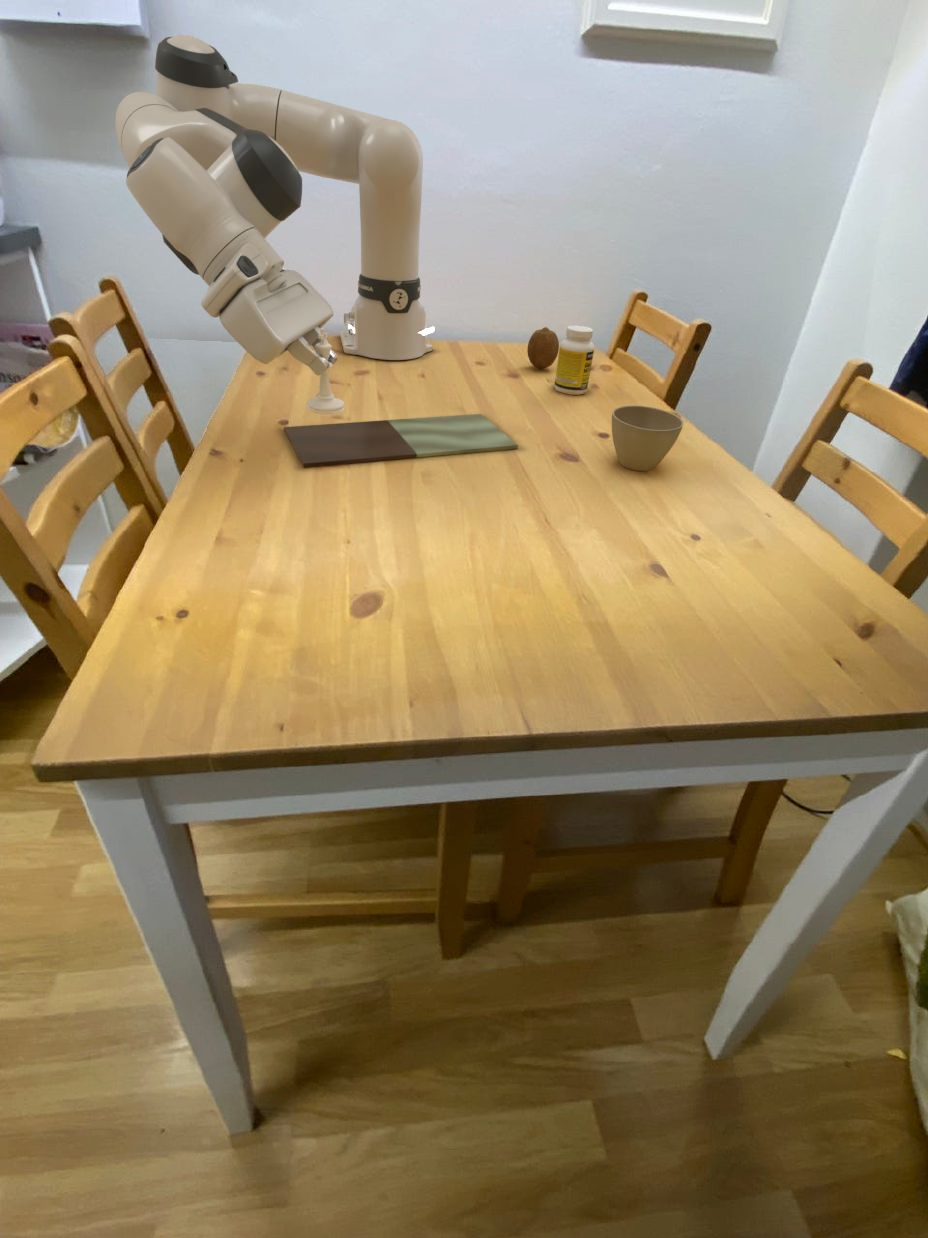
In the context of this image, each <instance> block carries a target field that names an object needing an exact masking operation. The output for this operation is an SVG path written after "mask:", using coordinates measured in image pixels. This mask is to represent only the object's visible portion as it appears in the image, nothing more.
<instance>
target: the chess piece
mask: <svg viewBox="0 0 928 1238" xmlns="http://www.w3.org/2000/svg"><path fill="white" fill-rule="evenodd" d="M328 337H329V333H328V332H326V328H323V327H322V328H320V335H318V339H321V342H320V343H317V344H316V345H315V347H316V350H317V352H318V355H320V354H322V355H323V357H324V358H325V359H326V360H327V361H328V358H329V354H330V351H331V349H332V344H330V343H329V342H328V343H326V339H327V338H328ZM325 338H326V339H325ZM328 362H329V361H328ZM329 365H330V366H329V368H328V369H327V370H325V371H324V372H323V373H322V374H321V375H319V385H318V386H319V387H318V393H317V394H316V396H315V397H312V398H310V399H309V400H307V401H306V409H307V411H309V412H311V413H313V414H319V415H335V414H339V413H342V412H343V411H345V407H346V406H345V403H344V401H343V400H341V399H340V398H338V397H335V395H334V394H333V392H332V388H331V387H332V386H331V381H330V374H329V369H330V368H333V366H334V364H333V365H332V363H331V362H329Z"/></svg>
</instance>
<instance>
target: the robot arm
mask: <svg viewBox="0 0 928 1238" xmlns="http://www.w3.org/2000/svg"><path fill="white" fill-rule="evenodd" d="M154 68H155V70H156V94H154V93H151V92H148V91H135V92H132V93H130V94H128V95H127V96H124V98H123V99H122V100H121V101H120V103H119V104H118V106H117V108H116V112H115V117H114V120H115V121H114V126H115V133H116V138H117V139H116V140H117V143H118V145H119V148H120V151H121V153H122V156H123V158H124V160H125V162H126V164H127V166H128V167H129V169H128V171H127V173H126V180H125V184H126V187H127V188H128V190H129V192H130V193H131V195H132V196H133V198H134V199H135V201H136V202H137V204H138V205H139V206H140V208H141V209H142V211H143V212H144V213H145V214H146V216H147V217H148V218H149V220H150V221H151V222H152V224H153V226H155V227H156V228H157V230H158V231H159V232H160V233H161V235H162V241H163V243H164V244H165V246H167V247H168V249H170V251H171V252H172V253H173V254H174V255H175V256H176V257H177V259H179V261H180V262H181V263H182V264H183V265H184V266H185V267H186V268H187V269H188V270H189V271H190V272H191V273H193V274H195V275H198V276H200V278H201V279H202V280H203V281H204V282H205V283H206V284H207V286H208V287H207V289H206V291H205V294H204V296H203V297H202V300H201V302H200V304H201V307H202V308H203V310H204V311H205V312H206V313H207V314H208V315H209V316H210V317H212V318H219V322H220V323H221V325H222V326H223V328H224V329H225V330H226V331H227V333H228V334H229V335H230V336H231V337H232V338H233V339H234V340H235V341H236V342H237V344H239V345H240V346H241V347H242V348H243V349H244V351H245V352H246V353H248V355H250V356H251V357H252V358H253V359H254V360H256V361H258V362H260V363H262V364H264V365H267V364H269V363H271V362H272V361H274V360H275V359H277V358H279V357H280V356H282V355H283V354H284V353H286V352H289V353H290V355H291V356H292V357H293V358H294V359H295V360H297V361H299V362H300V363H302V364H304V365H306V366H307V367H308V368H309V369H310V370H311V371H312V372H313V373H314V375H316V376H319V377H320V375H321V374H322V373H323V372H324V371H325V370H327V369H328V370H329V369H330V368H329V366H330V365H329V362H331V363H332V365H333V366H334V364H336V362H338V361H339V357H338V355H337V353H336V352H335V351H334V350H333V349H332V348H331V351H330V354H329V358H328V361H329V362H328V361H327V360H326V359H325V358H324V357H323V355H322V354H320V355H318V352H317V350H316V347H315V345H316V344H317V343H320V342H321V339H318V335H320V329H321V328H323V327H324V326H325V325H326V324H327V323H328V322H329V321H330V319H332V318H333V316H334V310H333V309H332V306H331V305H330V303H329V302H328V301H327V300H326V299H325V297H323V296H322V294H321V293H320V292H319V291H318V290H317V289H316V288H315V287H314V286H313V285H312V284H311V282H309V281H308V279H306V278H305V277H304V276H303V274H301V273H300V272H299V271H296V270H294V269H286V268H284V265H285V260H284V259H283V258H282V256H281V255H280V254H279V253H278V252H277V251H276V250H275V248H274V247H273V246H272V245H271V244H270V243H269V242H268V240H267V239H266V238H267V237H268V236H269V235H270V234H271V233H272V232H273V231H274V230H275V229H276V228H278V226H279V225H280V224H281V223H282V222H284V221H285V220H287V219H288V218H289V217H290V216H291V215H293V214H294V213H295V212H296V211H297V210H299V208H301V204H302V199H303V198H302V197H303V177H302V176H301V174H300V172H301V173H305V174H309V175H313V176H317V177H321V178H325V179H330V180H331V179H332V180H337V181H342V182H347V183H352V184H356V185H359V187H358V188H359V191H358V193H359V220H360V221H359V222H360V274H359V276H358V281H357V293H358V296H357V298H356V299H355V301H354V303H353V305H352V307H351V308H350V311H349V312H345V313H343V324H344V326H347V328H348V329H345V330H341V331H340V343H341V346H342V350H343V353H344V354H347V355H356V356H357V355H358V356H363V357H365V358H370V359H377V360H383V361H385V360H386V361H405V360H414V359H417V358H420V357H422V356H423V355H425V354H426V353H429V352H432V351H433V344H431V343H429V342H427V335H429V334H432V333H434V332H435V326H431V327H429V328H427V310H426V308H425V307H424V306H423V304H422V303H421V302H420V300H419V299H420V297H421V289H422V288H421V287H422V286H421V278H420V277H419V261H420V260H419V259H420V229H421V214H422V213H421V211H422V194H423V192H422V190H423V172H424V170H423V169H424V155H423V148H422V146H421V142H420V141H419V139H418V137H417V135H416V134H415V133H414V131H413V130H412V129H411V128H410V127H409V126H408V125H406V124H405V123H403V122H402V121H398V120H395V119H391V118H388V117H387V118H386V117H383V116H379V115H375V114H372V113H368V112H364V111H361V110H357V109H353V108H350V107H346V106H342V105H339V104H335V103H333V102H329V101H324V100H320V99H318V98H313V97H309V96H306V95H302V94H299V93H294V92H291V91H287V90H284V89H280V88H275V87H271V86H266V85H261V84H253V83H241V82H239V79H238V76H237V74H235V72H233V71H231V69H230V67H229V65H228V63H227V60H226V59H225V58H224V57H223V55H222V54H221V53H220V51H218V50H217V48H215V47H214V46H212V45H211V44H208V43H207V42H205V41H204V40H202V39H199V38H198V37H195V36H191V35H184V34H183V35H182V34H181V35H180V34H179V35H175V36H166V37H165V38H163V39H162V40H161V41H160V42H159V43H158V44H157V47H156V53H155V62H154ZM325 339H326V343H329V341H328V339H327V337H326V338H325ZM311 347H312V348H313V349H312V348H311Z"/></svg>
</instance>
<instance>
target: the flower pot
mask: <svg viewBox="0 0 928 1238" xmlns="http://www.w3.org/2000/svg"><path fill="white" fill-rule="evenodd" d="M683 427H684V420H683V419H682V418H681V417H679V416H678V415H677V414H675V413H673V412H670V411H668V410H665V409H661V408H657V407H652V406H647V405H637V404H635V405H623V406H618V407H616V408H614V409H613V411H612V412H611V434H612V435H611V436H612V441H613V447H614V450H615V453H616V456H617V460H618V461H619V463H620V465H621V466H623V467H624V468H626V469H629V470H631V471H637V472H648V471H651V470H654V468H656V467H657V466H658V465H659V464H660V463H661V462H662V461H663V459H664V458H665V457H666V456H667V455H668V454H669V452H670V451H671V450H672V448H673V447H674V445H675V443H676V442H677V440H678V438H679V436H680V434H681V433H682V429H683Z"/></svg>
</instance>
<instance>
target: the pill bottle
mask: <svg viewBox="0 0 928 1238" xmlns="http://www.w3.org/2000/svg"><path fill="white" fill-rule="evenodd" d="M593 334H594V330H593V328H591V327H588V326H585V325H584V326H583V325H568V326H567V327H566V332H565V336H566V338H564V339H563V340H561V342H560V343H559V351H558V356H557V358H558V359H557V364H556V372H555V377H554V385H553V386H554V387H553V388H554V389H555V391H557V392H559V393H561V394H565V395H570V396H571V395H572V396H577V395H578V396H580V395H583V394H585V393H586V392H587V391H588V386H589V381H590V375H591V370H592V363H593V358H594V354H595V353H594V352H595V345H594V343H593V342H592V341H591V340H592V338H593Z"/></svg>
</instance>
